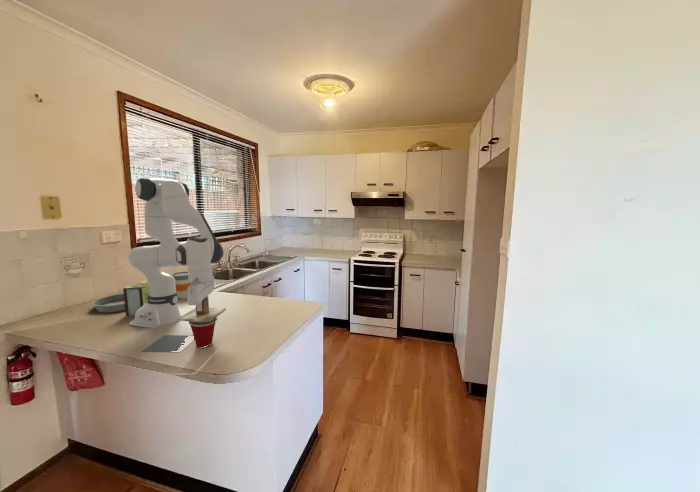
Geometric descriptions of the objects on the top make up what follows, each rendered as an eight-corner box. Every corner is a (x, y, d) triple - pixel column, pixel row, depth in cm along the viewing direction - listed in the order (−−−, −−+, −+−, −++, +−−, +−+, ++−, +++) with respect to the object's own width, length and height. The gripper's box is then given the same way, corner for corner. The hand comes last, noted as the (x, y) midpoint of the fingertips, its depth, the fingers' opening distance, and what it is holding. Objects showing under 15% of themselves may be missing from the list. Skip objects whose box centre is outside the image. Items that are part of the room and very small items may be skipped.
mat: (140, 352, 116) (140, 351, 116) (164, 336, 130) (164, 335, 130) (180, 353, 116) (180, 352, 116) (199, 336, 130) (199, 335, 130)
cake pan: (153, 304, 173) (153, 296, 172) (102, 317, 152) (101, 308, 151) (135, 296, 186) (135, 290, 185) (86, 307, 165) (85, 300, 164)
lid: (177, 320, 114) (176, 303, 113) (196, 309, 127) (196, 294, 126) (209, 321, 113) (208, 304, 112) (225, 310, 126) (224, 294, 125)
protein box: (163, 306, 169) (161, 280, 166) (144, 316, 153) (141, 288, 151) (146, 305, 169) (143, 280, 167) (125, 315, 154) (122, 287, 151)
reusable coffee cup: (179, 300, 179) (177, 277, 177) (169, 296, 186) (167, 274, 183) (199, 295, 189) (197, 273, 187) (189, 292, 196) (187, 270, 194)
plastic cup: (202, 354, 115) (201, 325, 113) (184, 348, 119) (182, 321, 117) (224, 342, 125) (222, 316, 123) (206, 338, 129) (204, 312, 127)
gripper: (199, 282, 108) (201, 317, 110) (216, 270, 128) (217, 300, 130) (181, 282, 107) (183, 318, 109) (201, 270, 127) (203, 300, 129)
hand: (202, 308), depth 120 cm, fingers closed on lid, 4 cm apart
